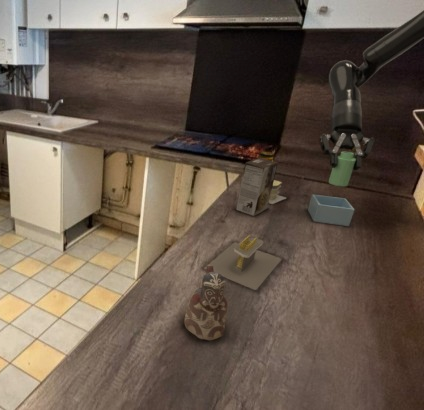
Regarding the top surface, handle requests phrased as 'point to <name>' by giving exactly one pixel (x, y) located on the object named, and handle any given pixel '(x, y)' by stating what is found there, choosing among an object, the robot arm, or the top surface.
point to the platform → (245, 263)
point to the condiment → (266, 155)
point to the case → (330, 210)
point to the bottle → (342, 169)
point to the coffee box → (256, 186)
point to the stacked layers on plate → (275, 193)
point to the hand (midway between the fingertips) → (345, 167)
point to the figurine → (208, 307)
